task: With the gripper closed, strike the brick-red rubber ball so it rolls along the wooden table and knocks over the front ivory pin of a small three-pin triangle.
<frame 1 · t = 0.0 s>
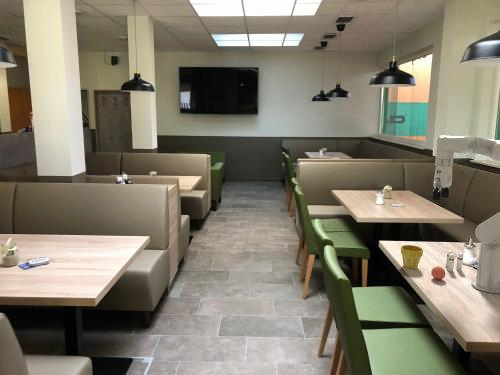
hand: (440, 198, 191), 37 cm above the table, tool pointing down, fingers open, 9 cm apart
ball: (438, 272, 189), on the table
rear right pin: (458, 270, 201), on the table
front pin: (450, 270, 200), on the table
plant pot: (410, 266, 205), on the table
rear left pin: (448, 267, 205), on the table
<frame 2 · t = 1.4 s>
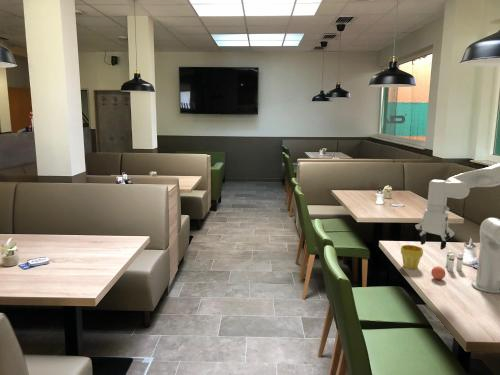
hand: (432, 246, 180), 18 cm above the table, tool pointing down, fingers open, 8 cm apart
nothing on the table moved.
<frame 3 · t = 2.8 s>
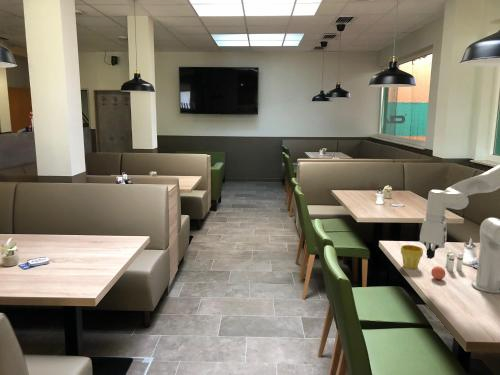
hand: (430, 257, 181), 13 cm above the table, tool pointing down, fingers closed
nothing on the table moved.
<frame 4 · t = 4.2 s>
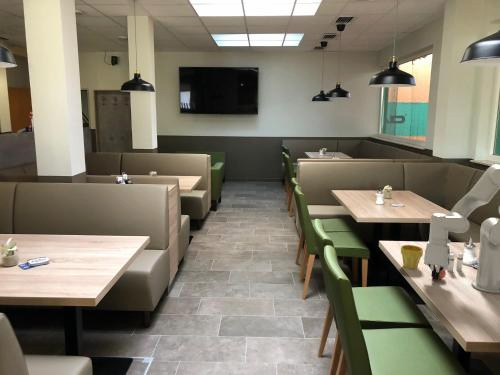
hand: (435, 278, 187), 1 cm above the table, tool pointing down, fingers closed
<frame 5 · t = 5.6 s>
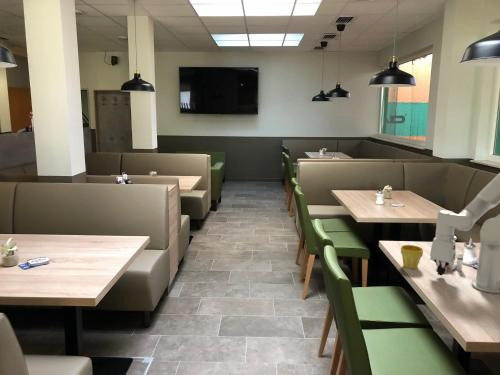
hand: (440, 274, 192), 1 cm above the table, tool pointing down, fingers closed
ball: (442, 263, 202), on the table
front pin: (451, 267, 201), point 1 cm above the table, tilted 90°
everything else where it was.
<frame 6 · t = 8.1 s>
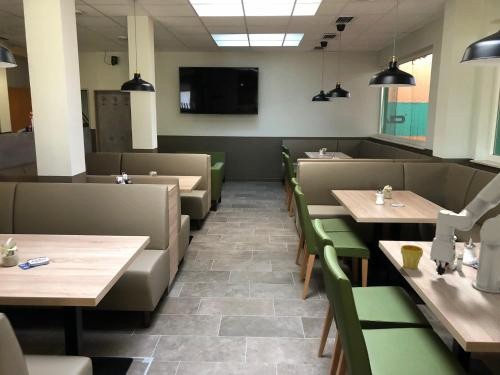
hand: (440, 274, 192), 1 cm above the table, tool pointing down, fingers closed
nothing on the table moved.
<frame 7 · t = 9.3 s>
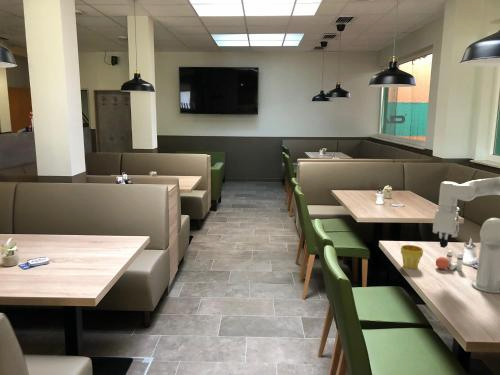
hand: (443, 246, 189), 15 cm above the table, tool pointing down, fingers closed
nothing on the table moved.
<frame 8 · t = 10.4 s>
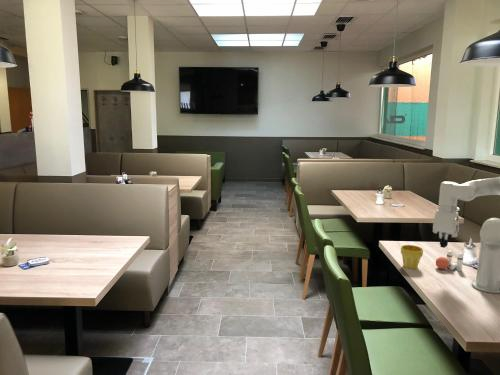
hand: (443, 246, 189), 15 cm above the table, tool pointing down, fingers closed
nothing on the table moved.
at the end: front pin tilted 90°; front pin never touched the robot; ball moved 15.2 cm from its start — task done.
